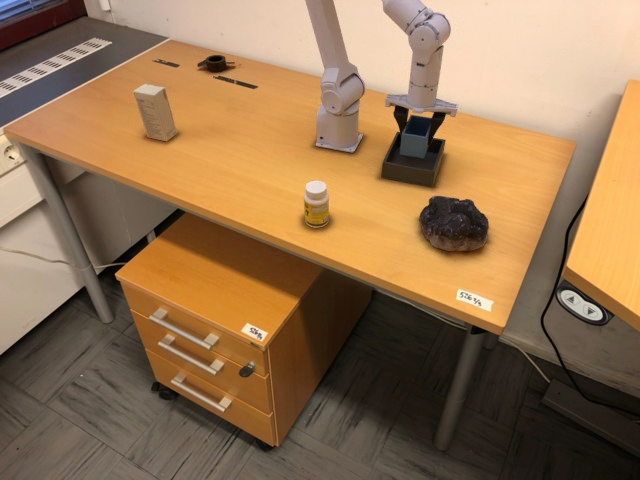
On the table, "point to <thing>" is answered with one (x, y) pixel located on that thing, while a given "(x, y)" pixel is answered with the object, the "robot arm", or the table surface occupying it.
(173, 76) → the table surface
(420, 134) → the blue bin
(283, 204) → the table surface
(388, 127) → the table surface
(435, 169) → the charcoal bin
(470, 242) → the crystal cluster
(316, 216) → the supplement bottle
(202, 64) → the black ring with tabs
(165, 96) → the cosmetic box
